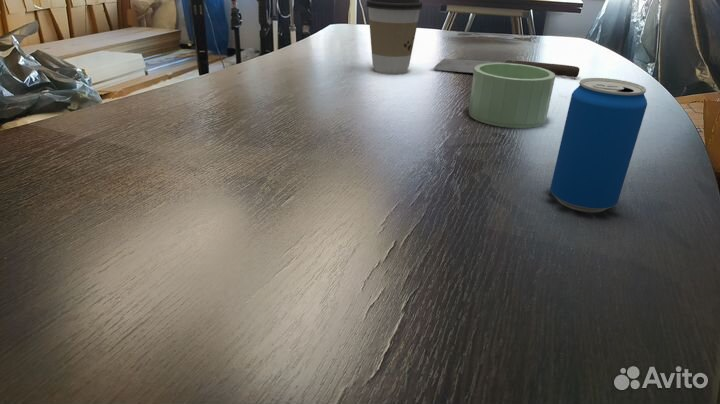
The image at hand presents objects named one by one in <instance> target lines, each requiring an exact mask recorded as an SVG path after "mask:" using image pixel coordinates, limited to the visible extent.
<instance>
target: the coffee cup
mask: <svg viewBox="0 0 720 404" xmlns="http://www.w3.org/2000/svg"><path fill="white" fill-rule="evenodd" d="M423 5H424V4H423V1H420V0H366V4H365V7H366V8H367V9H368V21H369V22H368V24H369V34H370V35H369V37H370V48H371V60H372V66H373V71H374V72H376V73H380V74H385V75H401V74H406V73H407V72H408V69H409V67H410V64H411V59H412V53H413V49H414V43H415V38H416V32H417V28H418V23H419V18H420V13H421V12H420V11H421V10H423V9H424V7H423Z"/></svg>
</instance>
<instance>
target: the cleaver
mask: <svg viewBox="0 0 720 404" xmlns="http://www.w3.org/2000/svg"><path fill="white" fill-rule="evenodd" d="M486 63H513V64H523V65H530V66H535V67H540V68H543V69H546V70H549V71H551V72H553V73H555V76H561V77H569V78H577V77H578V76H579V75H580V67H578V66H575V65H567V64H558V63H549V62H537V61H527V60H513V59H512V60H510V59H509V60H507V59H506V60H505V61H492V60H491V61H489V60H477V59H461V58H443V59H442V60H441V61H439V62H438V63H437V64H436V65H435V66H434V68H433V70H435V71H445V72H447V71H448V72H455V73H457V72H458V73H468V74H473V73H474V68H475V66H477V65H480V64H486Z"/></svg>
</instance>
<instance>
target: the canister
mask: <svg viewBox="0 0 720 404" xmlns="http://www.w3.org/2000/svg"><path fill="white" fill-rule="evenodd" d="M555 80H556V75H555V73H553V72H551V71H549V70H546V69H543V68H540V67H535V66H530V65H523V64H513V63H486V64H480V65H477V66H475V68H474V73H472V81H471V88H470V89H471V90H470V96H469V103H468V115H469V117H470V118H471V119H473V120H475V121H476V122H477V121H478V122H480V123H483V124H486V125H489V126H493V127H499V128H500V127H501V128H508V129H531V128H537V127H540V126H543V125H544V124H545V123H546V121H547V118H548V113H549V108H550V104H551V98H552V93H553V89H554V85H555Z"/></svg>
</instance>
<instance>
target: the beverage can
mask: <svg viewBox="0 0 720 404" xmlns="http://www.w3.org/2000/svg"><path fill="white" fill-rule="evenodd" d="M578 84H579V85H578V86H577V87H576V88H575V89H574V90H573V92H572V93H571V95H570V100H569V105H568V109H567V114H566V117H565V122H564V127H563V131H562V134H561V140H560V145H559V148H558V151H557V152H558V153H557V158H556V162H555V165H554V170H553V175H552V180H551V184H550V187H549V190H550V192H551V195H553V197H554V198H556V200H557V201H558V202H559V203H560V204H561V205H563V206H565V207H567V208H569V209H572V210H575V211H579V212H584V213H601V212H604V211H606V210H608V209H611V208H613V207H615V206H617V204H618V203H619V199H620V196H621V194H622V190H623V186H624V183H625V179H626V176H627V173H628V170H629V167H630V163H631V160H632V158H633V153H634V150H635V146H636V144H637V141H638V136H639V133H640V130H641V126H642V123H643V120H644V116H645V114H646V110H647V106H648V100H647V98H646V96H645V93H646V92H647V88H646V87H645V86H643V85H641V84H639V83H636V82H631V81H627V80H622V79H616V78H607V77H587V78H582V79H580V80H579V82H578Z"/></svg>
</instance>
